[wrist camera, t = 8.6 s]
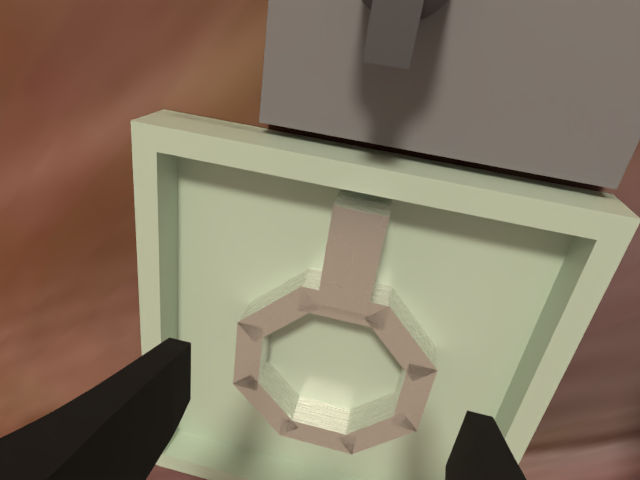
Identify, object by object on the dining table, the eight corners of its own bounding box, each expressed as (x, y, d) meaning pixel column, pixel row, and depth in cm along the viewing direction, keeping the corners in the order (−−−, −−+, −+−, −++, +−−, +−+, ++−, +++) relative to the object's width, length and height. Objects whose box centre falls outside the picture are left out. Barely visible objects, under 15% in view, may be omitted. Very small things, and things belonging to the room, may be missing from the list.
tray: (612, 194, 17) (641, 219, 15) (468, 508, 26) (473, 553, 23) (164, 109, 19) (130, 120, 17) (168, 426, 28) (146, 462, 25)
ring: (405, 441, 23) (404, 483, 21) (240, 398, 24) (223, 435, 22) (480, 211, 18) (489, 237, 15) (260, 167, 19) (240, 186, 16)
